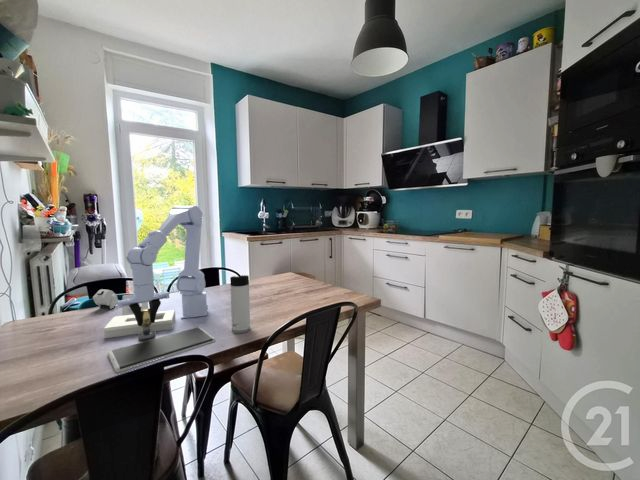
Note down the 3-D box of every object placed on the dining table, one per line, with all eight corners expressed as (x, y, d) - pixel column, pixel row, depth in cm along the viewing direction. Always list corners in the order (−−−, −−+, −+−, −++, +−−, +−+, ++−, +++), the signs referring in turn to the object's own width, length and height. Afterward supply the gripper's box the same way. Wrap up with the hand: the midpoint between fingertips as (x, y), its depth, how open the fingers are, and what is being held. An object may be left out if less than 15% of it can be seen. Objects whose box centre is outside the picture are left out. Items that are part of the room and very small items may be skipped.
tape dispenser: (103, 311, 125) (87, 298, 118) (112, 298, 130) (98, 285, 123) (115, 312, 124) (100, 299, 117) (124, 298, 129) (110, 286, 122)
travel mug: (234, 335, 97) (232, 277, 95) (230, 328, 103) (228, 274, 101) (252, 331, 100) (250, 275, 98) (247, 325, 106) (246, 272, 104)
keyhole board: (175, 318, 112) (175, 309, 112) (172, 329, 102) (171, 319, 102) (114, 325, 105) (114, 316, 105) (104, 338, 95) (104, 328, 95)
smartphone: (216, 343, 93) (216, 338, 93) (116, 375, 75) (115, 369, 74) (200, 330, 103) (199, 326, 103) (107, 356, 84) (107, 350, 84)
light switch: (122, 320, 106) (122, 293, 116) (123, 331, 109) (123, 304, 119) (148, 315, 111) (146, 290, 121) (149, 326, 114) (147, 300, 124)
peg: (156, 333, 99) (154, 307, 98) (153, 339, 94) (152, 311, 93) (140, 335, 97) (138, 308, 96) (137, 342, 92) (135, 313, 91)
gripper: (163, 277, 101) (165, 314, 103) (114, 285, 91) (117, 326, 93) (170, 281, 96) (172, 320, 98) (118, 289, 86) (122, 332, 88)
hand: (146, 323), depth 95 cm, fingers closed on peg, 3 cm apart
